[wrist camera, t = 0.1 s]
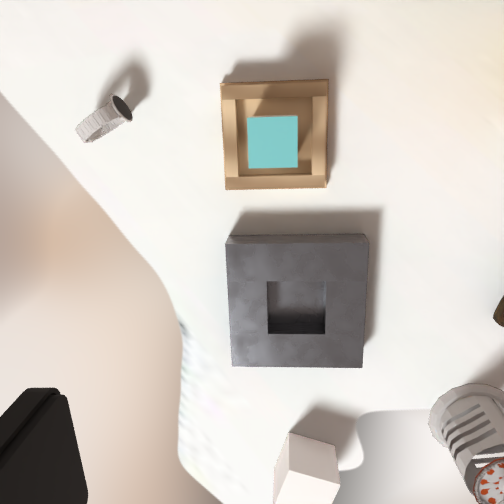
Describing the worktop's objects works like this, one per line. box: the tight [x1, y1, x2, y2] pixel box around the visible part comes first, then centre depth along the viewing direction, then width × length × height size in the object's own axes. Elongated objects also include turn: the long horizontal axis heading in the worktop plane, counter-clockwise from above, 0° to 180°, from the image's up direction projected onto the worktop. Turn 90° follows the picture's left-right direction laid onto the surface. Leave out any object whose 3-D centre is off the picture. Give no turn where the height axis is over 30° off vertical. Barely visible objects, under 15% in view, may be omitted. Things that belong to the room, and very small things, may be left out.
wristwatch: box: [75, 94, 132, 143], centre depth 41 cm, size 3×5×5 cm, turn 122°
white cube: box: [273, 432, 340, 504], centre depth 52 cm, size 6×6×6 cm
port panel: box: [225, 234, 369, 368], centre depth 46 cm, size 14×14×3 cm
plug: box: [247, 114, 298, 169], centre depth 38 cm, size 4×4×7 cm
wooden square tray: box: [220, 79, 329, 190], centre depth 41 cm, size 10×10×2 cm
